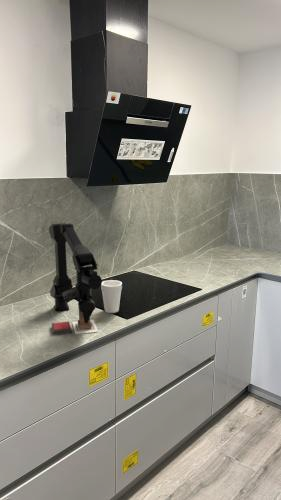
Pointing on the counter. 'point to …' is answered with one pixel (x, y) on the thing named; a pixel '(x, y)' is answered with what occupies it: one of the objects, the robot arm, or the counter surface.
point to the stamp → (81, 322)
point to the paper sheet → (84, 331)
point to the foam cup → (111, 295)
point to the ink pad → (61, 328)
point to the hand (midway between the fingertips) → (84, 318)
